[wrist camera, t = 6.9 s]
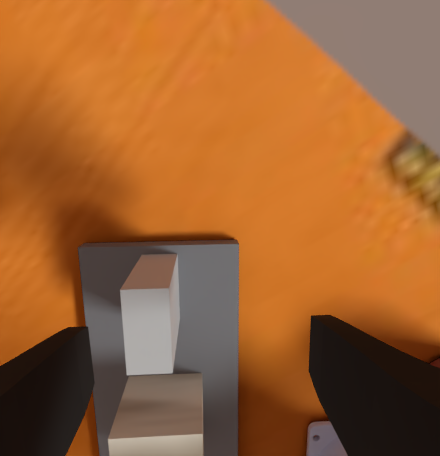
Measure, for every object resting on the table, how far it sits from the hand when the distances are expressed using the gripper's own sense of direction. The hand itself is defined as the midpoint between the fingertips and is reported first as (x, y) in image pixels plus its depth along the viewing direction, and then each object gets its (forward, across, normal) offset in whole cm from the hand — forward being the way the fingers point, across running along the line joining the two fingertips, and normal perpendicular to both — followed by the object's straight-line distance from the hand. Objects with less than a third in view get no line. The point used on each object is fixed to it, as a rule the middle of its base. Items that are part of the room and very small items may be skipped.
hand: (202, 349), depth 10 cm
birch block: (+8, +2, +9) cm, 13 cm away
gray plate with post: (+9, +2, +8) cm, 12 cm away
